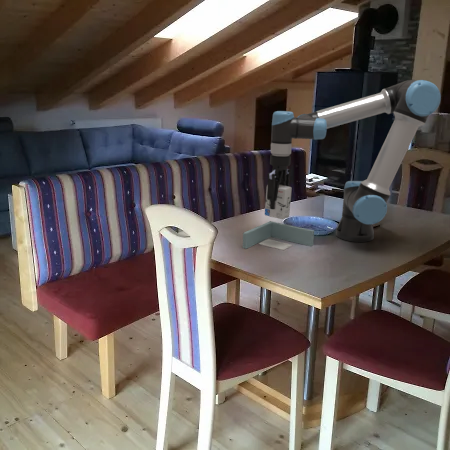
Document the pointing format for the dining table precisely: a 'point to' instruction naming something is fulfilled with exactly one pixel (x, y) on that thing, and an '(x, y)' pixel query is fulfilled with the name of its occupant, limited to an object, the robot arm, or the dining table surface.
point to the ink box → (280, 202)
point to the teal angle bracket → (278, 234)
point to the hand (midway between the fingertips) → (276, 215)
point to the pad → (275, 244)
